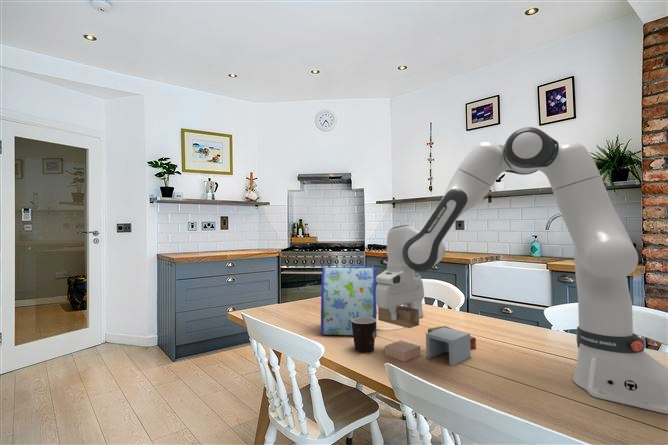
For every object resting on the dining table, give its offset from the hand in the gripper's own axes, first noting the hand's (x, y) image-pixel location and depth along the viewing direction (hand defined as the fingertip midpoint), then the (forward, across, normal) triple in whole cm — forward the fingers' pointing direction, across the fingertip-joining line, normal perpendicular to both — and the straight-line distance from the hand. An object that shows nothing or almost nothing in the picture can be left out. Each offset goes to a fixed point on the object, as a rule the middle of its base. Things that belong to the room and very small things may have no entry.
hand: (401, 317), depth 116 cm
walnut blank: (+2, 0, -2) cm, 2 cm away
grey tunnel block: (+12, -9, +11) cm, 19 cm away
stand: (+12, 0, 0) cm, 12 cm away
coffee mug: (+12, +7, -12) cm, 18 cm away
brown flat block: (+13, -21, +4) cm, 25 cm away
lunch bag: (+12, -5, -31) cm, 34 cm away
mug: (+12, -40, -27) cm, 50 cm away
